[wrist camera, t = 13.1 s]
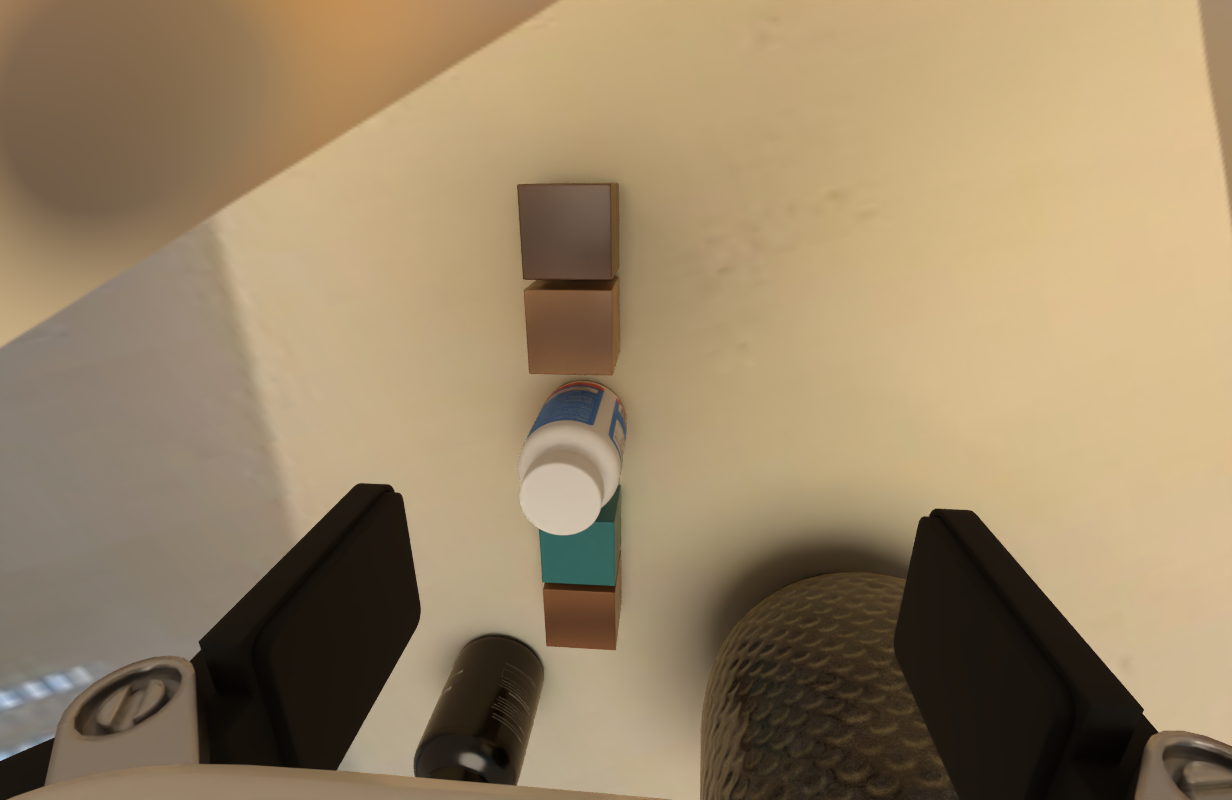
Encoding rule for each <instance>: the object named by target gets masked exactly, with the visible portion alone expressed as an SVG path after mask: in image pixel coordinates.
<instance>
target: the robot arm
mask: <svg viewBox="0 0 1232 800" xmlns="http://www.w3.org/2000/svg"><path fill="white" fill-rule="evenodd" d="M420 613H421V606H420V600H419V593H418V587H417V581H416V575H415V569H414V563H413V557H412V550H411V544H410V538H409V532H408V526H407V520H406V514H405V508H404V501H403V497H402V495H401V494H400V493H395V492H394V489H393V488H392V486H390V485H387V484H364V483H361V484H357V485H356V486H354V487H353V488H352V489H351V490H350V491H349V492H348V493H347V494H346V495H345V496H344V497H343V498H342V499H341V500H340V501H339V502H338V503H337V504H336V505H335V506H334V507H333V508H332V509H331V510H330V511H329V512H328V513H327V514H326V515H325V516H324V517H323V518H322V519H321V520H320V521H319V522H318V523H317V524H316V525H315V526H314V527H313V528H312V529H311V530H310V531H309V532H308V533H307V534H306V535H305V536H304V537H303V538H302V539H301V540H300V541H299V542H298V543H297V544H296V545H295V546H294V547H293V548H292V549H291V550H290V551H289V552H288V553H287V554H286V555H285V556H284V557H283V558H282V559H281V560H280V561H279V562H278V563H277V564H276V565H275V566H274V567H273V568H272V569H271V570H270V571H269V572H268V573H267V574H266V575H265V576H264V577H263V578H262V579H261V580H260V581H259V582H258V583H257V584H256V585H255V586H254V587H253V588H252V589H251V590H250V591H249V592H248V593H247V594H246V595H245V596H244V597H243V598H242V599H241V600H240V601H239V602H238V603H237V604H236V605H235V606H234V607H233V608H232V609H231V610H230V611H229V612H228V613H227V614H226V615H225V616H224V617H223V618H222V619H221V620H220V621H219V622H218V623H217V624H216V625H215V626H214V627H213V628H212V629H211V630H210V631H209V632H208V633H207V634H206V635H205V636H204V637H203V638H202V639H201V640H200V641H199V644H200V647H201V650H200V651H199V652H198V653H197V654H196V656H195V657H194V658H193V659H192V660H191V661H190V662H189V661H187V660H186V659H184V658H181V657H175V656H161V657H152V658H148V659H145V660H141V661H138V662H134V663H132V664H129V665H127V666H125V667H122V668H120V669H118V670H116V671H113V672H112V673H110V674H108V675H107V676H105V677H103V678H102V679H100V680H98V681H97V682H95V683H93V684H92V685H91V686H90V687H88V688H87V689H86V690H85V691H83V692H82V693H81V694H80V695H79V696H77V697H76V698H75V699H74V701H73V702H72V703H71V704H70V705H69V706H68V708H67V709H66V710H65V711H64V713H63V715H62V717H61V719H60V721H59V724H58V726H57V731H56V735H55V738H52V739H50V740H48V741H45V742H43V743H41V744H39V745H36V746H34V747H32V748H29V749H27V750H25V751H22V752H20V753H18V754H16V755H13V756H11V757H9V758H6V759H4V760H2V761H0V800H670V799H659V798H648V797H637V796H626V795H615V794H604V793H593V792H581V791H570V790H559V789H548V788H537V787H526V786H514V785H502V784H491V783H479V782H467V781H455V780H443V779H431V778H420V777H408V776H396V775H384V774H372V773H360V772H348V771H336V770H337V769H338V767H339V765H340V763H341V761H342V760H343V758H344V756H345V754H346V753H347V751H348V749H349V747H350V745H351V744H352V742H353V740H354V738H355V736H356V735H357V733H358V731H359V729H360V728H361V726H362V724H363V722H364V720H365V719H366V717H367V715H368V713H369V712H370V710H371V708H372V706H373V704H374V703H375V701H376V699H377V697H378V696H379V694H380V692H381V690H382V688H383V687H384V685H385V683H386V681H387V679H388V678H389V676H390V674H391V672H392V671H393V669H394V667H395V665H396V663H397V662H398V660H399V658H400V656H401V655H402V653H403V651H404V649H405V647H406V646H407V644H408V642H409V640H410V639H411V637H412V635H413V633H414V631H415V630H416V628H417V625H418V623H419V619H420ZM894 652H895V656H896V659H897V662H898V664H899V666H900V668H901V671H902V673H903V675H904V677H905V679H906V682H907V684H908V686H909V688H910V691H911V693H912V695H913V697H914V700H915V702H916V704H917V706H918V709H919V711H920V713H921V715H922V718H923V720H924V722H925V724H926V727H927V729H928V731H929V733H930V735H931V738H932V740H933V742H934V744H935V747H936V749H937V751H938V753H939V756H940V758H941V760H942V762H943V765H944V767H945V769H946V771H947V774H948V776H949V778H950V780H951V782H952V785H953V787H954V789H955V791H956V794H957V796H958V798H959V800H1232V746H1230V745H1227V744H1225V743H1222V742H1220V741H1217V740H1214V739H1212V738H1209V737H1207V736H1203V735H1199V734H1194V733H1190V732H1186V731H1162V732H1160V733H1159V732H1158V731H1157V730H1156V729H1155V728H1154V727H1153V725H1152V724H1151V723H1150V722H1149V721H1148V720H1147V718H1146V717H1145V716H1144V715H1143V714H1142V713H1143V711H1144V709H1143V708H1142V707H1141V705H1140V704H1139V703H1138V702H1137V701H1136V700H1135V698H1134V697H1133V696H1132V695H1131V694H1130V693H1129V691H1128V690H1127V689H1126V688H1125V687H1124V686H1123V684H1122V683H1121V682H1120V681H1119V680H1118V679H1117V677H1116V676H1115V675H1114V674H1113V673H1112V672H1111V671H1110V669H1109V668H1108V667H1107V666H1106V665H1105V664H1104V662H1103V661H1102V660H1101V659H1100V658H1099V657H1098V655H1097V654H1096V653H1095V652H1094V651H1093V650H1092V648H1091V647H1090V646H1089V645H1088V644H1087V643H1086V641H1085V640H1084V639H1083V638H1082V637H1081V636H1080V634H1079V633H1078V632H1077V631H1076V630H1075V629H1074V628H1073V626H1072V625H1071V624H1070V623H1069V622H1068V621H1067V619H1066V618H1065V617H1064V616H1063V615H1062V614H1061V612H1060V611H1059V610H1058V609H1057V608H1056V607H1055V605H1054V604H1053V603H1052V602H1051V601H1050V600H1049V598H1048V597H1047V596H1046V595H1045V594H1044V593H1043V591H1042V590H1041V589H1040V588H1039V587H1038V586H1037V585H1036V583H1035V582H1034V581H1033V580H1032V579H1031V578H1030V576H1029V575H1028V574H1027V573H1026V572H1025V571H1024V569H1023V568H1022V567H1021V566H1020V565H1019V564H1018V562H1017V561H1016V560H1015V559H1014V558H1013V557H1012V555H1011V554H1010V553H1009V552H1008V551H1007V550H1006V548H1005V547H1004V546H1003V545H1002V544H1001V543H1000V542H999V540H998V539H997V538H996V537H995V536H994V535H993V533H992V532H991V531H990V530H989V529H988V528H987V526H986V525H985V524H984V523H983V522H982V521H981V519H980V518H979V517H978V516H977V515H976V514H975V513H974V512H973V511H970V510H952V509H934V510H933V511H932V512H931V514H930V516H929V517H922V518H921V519H920V521H919V524H918V528H917V533H916V537H915V542H914V546H913V551H912V556H911V560H910V565H909V569H908V574H907V579H906V583H905V588H904V592H903V597H902V601H901V606H900V611H899V615H898V620H897V624H896V629H895V634H894Z"/></svg>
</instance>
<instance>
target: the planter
mask: <svg viewBox="0 0 1232 800" xmlns="http://www.w3.org/2000/svg"><path fill="white" fill-rule="evenodd" d="M905 583H906V579H902V578H899V577H895V576H890V575H883V574H876V573H868V572H841V573H829V574H820V575H816V576H812V577H808V578H805V579H802V580H799V581H797V582H794V583H793V584H791V585H788V586H786V587H784V588H782V589H780V590H778V591H776V592H775V593H773V594H771V595H769V596H768V597H766V598H765V599H764V600H763V601H761V602H760V603H759V604H757V605H756V606H755V607H753V608H752V609H751V610H750V611H749V612H748V613H747V614H746V615H745V616H744V617H743V618H742V619H741V620H740V621H739V622H738V623H737V624H736V625H735V626H734V628H733V629H732V631H731V632H730V633H729V635H728V636H727V638H726V639H725V641H724V642H723V644H722V646H721V649H720V651H719V653H718V655H717V658H716V660H715V662H714V665H713V667H712V670H711V673H710V677H709V680H708V685H707V690H706V694H705V699H704V705H703V711H702V723H701V770H700V800H959V798H958V796H957V794H956V791H955V789H954V787H953V785H952V782H951V780H950V778H949V776H948V774H947V771H946V769H945V767H944V765H943V762H942V760H941V758H940V756H939V753H938V751H937V749H936V747H935V744H934V742H933V740H932V738H931V735H930V733H929V731H928V729H927V727H926V724H925V722H924V720H923V718H922V715H921V713H920V711H919V709H918V706H917V704H916V702H915V700H914V697H913V695H912V693H911V691H910V688H909V686H908V684H907V682H906V679H905V677H904V675H903V673H902V671H901V668H900V666H899V664H898V662H897V659H896V656H895V652H894V634H895V629H896V624H897V620H898V615H899V611H900V606H901V601H902V597H903V592H904V588H905Z"/></svg>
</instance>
